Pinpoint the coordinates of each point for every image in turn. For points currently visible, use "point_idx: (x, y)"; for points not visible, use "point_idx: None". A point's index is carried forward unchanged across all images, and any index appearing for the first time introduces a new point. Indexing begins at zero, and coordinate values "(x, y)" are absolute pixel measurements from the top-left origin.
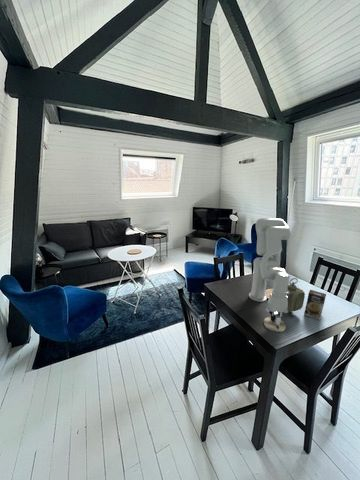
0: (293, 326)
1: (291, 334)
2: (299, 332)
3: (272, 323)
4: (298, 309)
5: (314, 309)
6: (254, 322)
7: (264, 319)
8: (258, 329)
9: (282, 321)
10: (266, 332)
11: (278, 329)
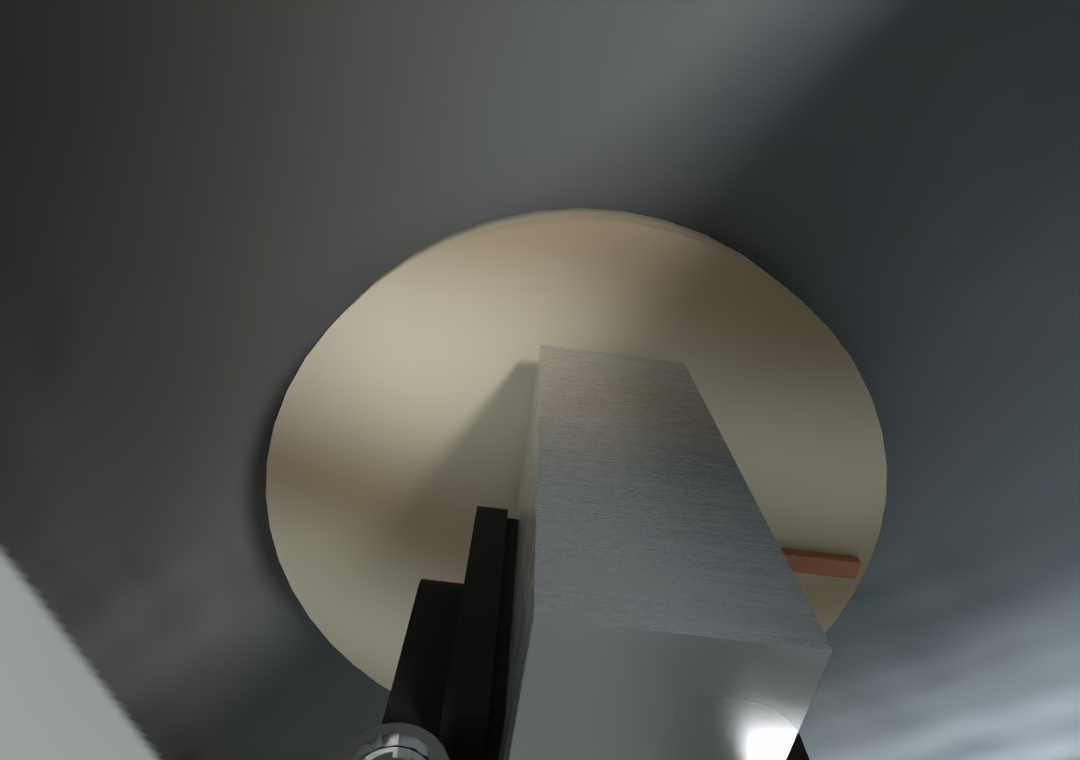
0: (1060, 545)
1: None
2: (1009, 708)
3: None
4: None
5: None
6: (25, 359)
7: (312, 360)
8: (100, 602)
9: (872, 478)
10: (266, 683)
11: None
